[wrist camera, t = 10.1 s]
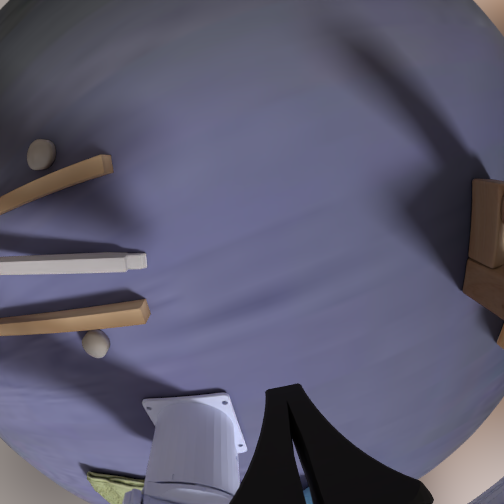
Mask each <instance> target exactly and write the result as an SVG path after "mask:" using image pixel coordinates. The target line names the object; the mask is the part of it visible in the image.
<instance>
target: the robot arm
mask: <svg viewBox="0 0 504 504" xmlns="http://www.w3.org/2000/svg"><path fill="white" fill-rule="evenodd" d="M265 394H266V404H265V412H264V419H263V423H262V428H261V433H260V436H259V440H258V443H257V446H256V450H255V452H254V455H253V458H252V460H251V463H250V465H249V468H248V470H247V472H246V474H245V476H244V478H243V480H242V482H241V484H240V479H239V463H238V453H242V452H246V451H247V446H246V443H245V440H244V438H243V435H242V432H241V429H240V426H239V423H238V420H237V417H236V415H235V412H234V409H233V406H232V403H231V400H230V396H229V395H228V394H227V393H224V392H222V393H214V394H205V395H195V396H184V397H170V398H152V399H144V400H143V402H142V405H143V407H144V409H145V410H146V412H147V414H148V415H149V417H150V419H151V420H152V422H153V424H154V425H155V427H156V428H155V432H154V437H153V442H152V447H151V451H150V456H149V461H148V466H147V472H146V477H145V482H144V487H143V489H142V491H141V490H138V489H132V490H131V491H128V492H126V493H125V495H124V498H123V502H122V504H306V500H305V497H304V493H303V489H302V485H301V481H300V477H299V473H298V469H297V465H296V461H295V457H294V450H293V442H294V445H295V448H296V451H297V454H298V456H299V459H300V462H301V465H302V468H303V470H304V473H305V476H306V479H307V482H308V486H309V490H310V494H311V498H312V502H313V504H432V503H433V501H434V499H433V497H432V495H431V493H430V492H429V490H428V489H427V488H426V487H425V485H424V484H423V483H422V482H421V481H419V480H417V479H414V478H411V477H409V476H406V475H404V474H402V473H400V472H397V471H395V470H393V469H391V468H389V467H387V466H385V465H384V464H382V463H380V462H379V461H377V460H375V459H374V458H372V457H370V456H369V455H367V454H366V453H364V452H363V451H362V450H360V449H359V448H357V447H356V446H355V445H354V444H352V443H351V442H350V441H349V440H347V439H346V438H345V437H344V436H343V435H342V434H341V433H339V432H338V431H337V430H336V429H335V428H334V427H333V426H332V425H331V424H330V423H329V422H328V421H327V419H326V418H325V417H324V416H323V415H322V414H321V413H320V412H319V410H318V409H317V408H316V407H315V405H314V404H313V403H312V401H311V400H310V399H309V397H308V396H307V394H306V393H305V391H304V390H303V388H302V386H301V385H300V384H293V385H288V386H283V387H278V388H273V389H268V390H267V391H266V392H265ZM223 401H226V402H223ZM150 407H151V408H150ZM292 439H293V442H292ZM468 504H504V477H503V478H502V479H500V480H499V481H498V482H497V483H495V484H494V485H493V486H492V487H490V488H489V489H488V490H486V491H485V492H484V493H482V494H481V495H480V496H478V497H477V498H476V499H474V500H473V501H471V502H470V503H468Z"/></svg>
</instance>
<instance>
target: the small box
mask: <svg viewBox="0 0 504 504" xmlns="http://www.w3.org/2000/svg"><path fill="white" fill-rule="evenodd" d="M497 344H498V345H499V346H500V347H501V348H502V349H504V325H503V327H502V330H501V333H500V335H499V337H498V340H497Z"/></svg>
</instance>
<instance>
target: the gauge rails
mask: <svg viewBox="0 0 504 504" xmlns="http://www.w3.org/2000/svg"><path fill="white" fill-rule="evenodd" d="M55 156H56V148H55V145H54V143H53V142H52V141H50V140H44V139H37V140H35V141H34V142H33V143H32V144H31V145H30V147H29V149H28V152H27V162H28V165H29V166H30V168H31V169H33V170H44V169H47V168H49V167H50V166H51V165H52V164H53V162H54V160H55ZM110 173H114V172H113V166H112V161H111V155H102V154H101V155H98V156H95V157H92V158H90V159H87V160H84V161H81V162H79V163H76V164H73V165H71V166H68V167H65V168H63V169H60V170H58V171H55V172H53V173H51V174H48V175H46V176H44V177H41V178H39V179H37V180H34V181H32V182H30V183H28V184H26V185H24V186H21V187H19V188H17V189H15V190H13V191H11V192H9V193H7V194H5V195H3V196H1V197H0V215H2V214H4V213H6V212H8V211H11V210H13V209H15V208H17V207H20V206H22V205H24V204H27V203H29V202H32V201H34V200H37V199H39V198H42V197H44V196H47V195H49V194H52V193H54V192H57V191H60V190H62V189H65V188H68V187H71V186H74V185H76V184H79V183H82V182H85V181H88V180H91V179H94V178H97V177H101V176H104V175H107V174H110ZM150 314H151V313H150V310H149V307H148V304H147V301H146V299H141V300H135V301H128V302H121V303H114V304H108V305H101V306H93V307H86V308H79V309H71V310H64V311H56V312H48V313H40V314H31V315H22V316H14V317H4V318H0V336H10V335H31V334H47V333H61V332H73V331H85V330H89V331H88V332H87V333H86V335H85V336H84V337H83V339H82V346H83V348H84V350H85V351H86V352H87V353H88V354H89V355H91V356H92V357H95V358H102V357H104V356H105V354H106V352H107V351H108V349H109V347H110V341H109V338H108V337H107V335H106V334H105V333H104V332H102V331H101V330H98V329H105V328H114V327H123V326H132V325H140V324H146V322H147V320H148V318H149V316H150Z"/></svg>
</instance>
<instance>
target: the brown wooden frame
mask: <svg viewBox="0 0 504 504" xmlns="http://www.w3.org/2000/svg"><path fill="white" fill-rule="evenodd" d="M468 256H469V259H468V260H467V265H466V272H465V278H464V284H463V293H464V294H466V295H467V296H469V297H470V298H472V299H473V300H475V301H476V302H478V303H479V304H481V305H482V306H484V307H485V308H487V309H488V310H490V311H491V312H492V313H494V314H495V315H497V316H498V317H500V318H501V319H502V320H504V181H499V180H493V179H473V180H472V215H471V231H470V242H469V252H468Z"/></svg>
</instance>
